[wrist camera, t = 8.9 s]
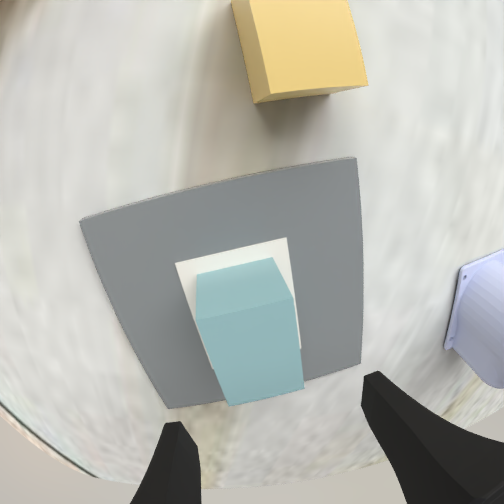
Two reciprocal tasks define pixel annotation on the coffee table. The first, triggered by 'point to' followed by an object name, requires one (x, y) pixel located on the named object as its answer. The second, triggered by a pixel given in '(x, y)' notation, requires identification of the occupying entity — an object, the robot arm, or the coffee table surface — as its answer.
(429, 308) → the coffee table surface
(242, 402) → the teal brick
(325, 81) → the ochre brick
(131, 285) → the baseplate
